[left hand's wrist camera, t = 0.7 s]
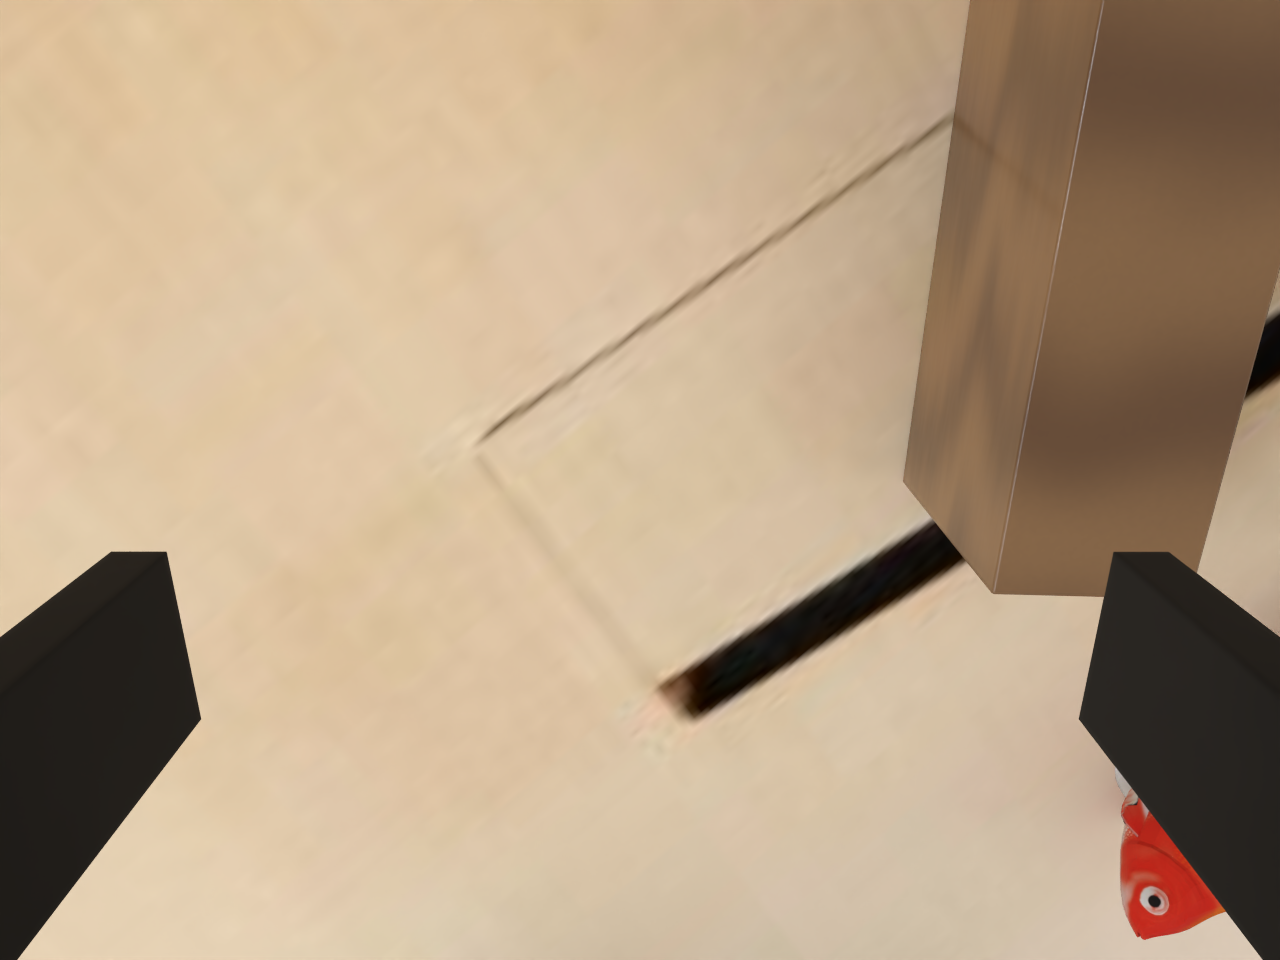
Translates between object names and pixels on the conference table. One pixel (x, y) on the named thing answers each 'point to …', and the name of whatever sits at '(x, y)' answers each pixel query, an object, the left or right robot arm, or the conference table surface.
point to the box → (1096, 282)
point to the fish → (1157, 876)
